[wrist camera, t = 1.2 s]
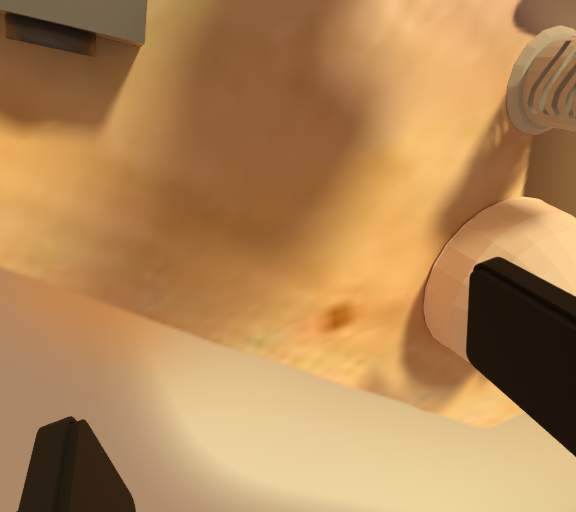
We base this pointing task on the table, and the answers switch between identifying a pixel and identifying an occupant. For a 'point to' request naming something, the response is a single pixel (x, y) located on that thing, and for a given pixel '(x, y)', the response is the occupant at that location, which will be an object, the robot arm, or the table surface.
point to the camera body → (75, 22)
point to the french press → (544, 83)
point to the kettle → (498, 243)
